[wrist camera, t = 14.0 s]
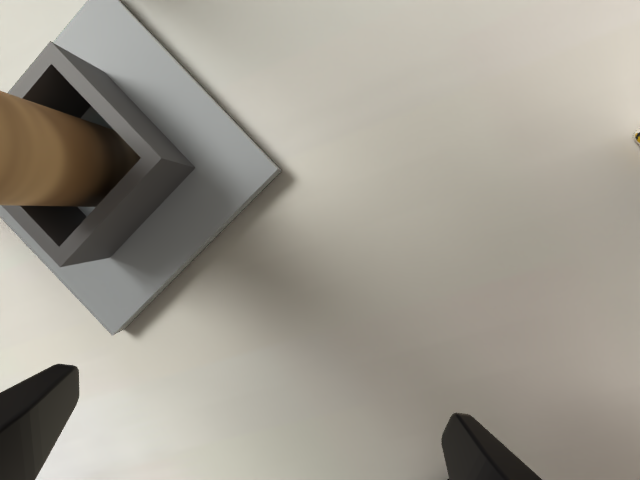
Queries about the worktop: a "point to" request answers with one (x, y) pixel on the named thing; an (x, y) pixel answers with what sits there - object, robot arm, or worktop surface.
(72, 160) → the tan domed cylinder
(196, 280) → the worktop surface
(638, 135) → the medicine bottle
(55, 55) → the awning socket
